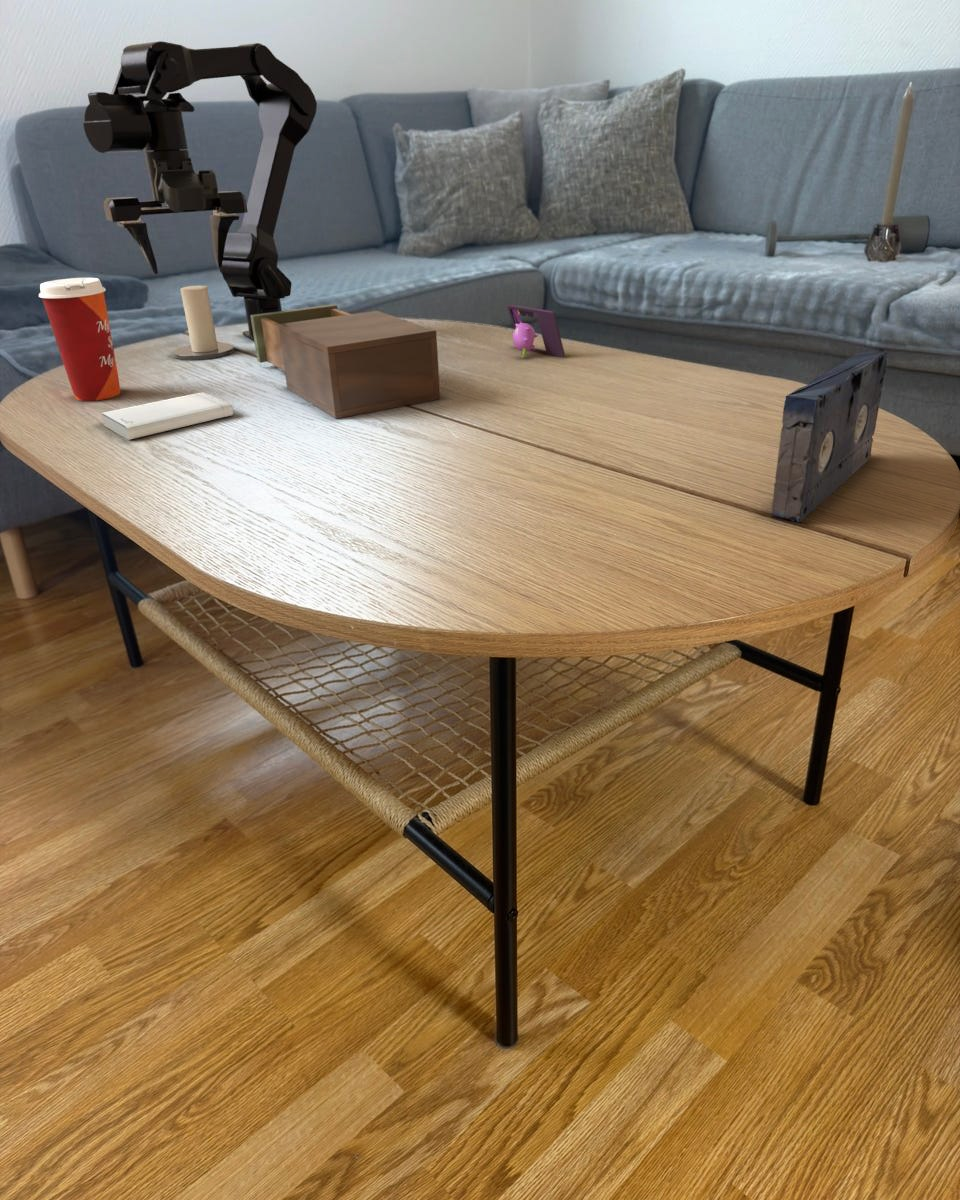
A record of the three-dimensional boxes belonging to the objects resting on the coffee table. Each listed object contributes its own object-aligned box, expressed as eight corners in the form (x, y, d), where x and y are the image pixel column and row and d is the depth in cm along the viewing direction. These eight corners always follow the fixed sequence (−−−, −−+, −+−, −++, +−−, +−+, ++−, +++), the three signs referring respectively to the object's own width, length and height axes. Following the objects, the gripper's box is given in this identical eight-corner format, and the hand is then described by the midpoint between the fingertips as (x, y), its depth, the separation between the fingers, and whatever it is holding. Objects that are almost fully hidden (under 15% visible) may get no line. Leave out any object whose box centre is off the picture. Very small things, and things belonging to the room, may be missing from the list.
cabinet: (287, 388, 112) (277, 324, 108) (382, 372, 118) (377, 310, 114) (335, 418, 99) (327, 347, 95) (440, 398, 105) (436, 330, 101)
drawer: (248, 356, 126) (241, 310, 123) (328, 343, 131) (323, 300, 128) (294, 383, 111) (288, 333, 108) (383, 368, 116) (379, 320, 113)
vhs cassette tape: (843, 454, 83) (861, 348, 78) (875, 459, 81) (896, 351, 76) (763, 516, 71) (778, 395, 66) (798, 524, 69) (817, 400, 64)
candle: (189, 349, 132) (177, 287, 128) (214, 345, 134) (203, 284, 130) (195, 353, 130) (183, 290, 125) (221, 350, 131) (210, 287, 127)
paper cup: (135, 396, 111) (108, 281, 105) (71, 406, 108) (40, 288, 101) (122, 384, 117) (96, 274, 111) (61, 393, 114) (31, 281, 107)
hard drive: (126, 426, 94) (231, 402, 101) (99, 412, 100) (201, 389, 106) (130, 441, 95) (234, 416, 102) (103, 426, 100) (203, 403, 107)
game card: (557, 308, 118) (512, 301, 124) (532, 327, 116) (487, 319, 122) (568, 353, 122) (524, 344, 128) (544, 372, 120) (500, 362, 126)
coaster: (167, 352, 134) (166, 348, 134) (225, 343, 138) (224, 340, 138) (181, 362, 127) (180, 358, 127) (241, 354, 131) (241, 349, 131)
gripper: (105, 153, 109) (133, 283, 117) (250, 147, 117) (267, 270, 125) (91, 153, 118) (117, 275, 125) (227, 148, 126) (244, 262, 133)
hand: (188, 270), depth 127 cm, fingers open, 9 cm apart
